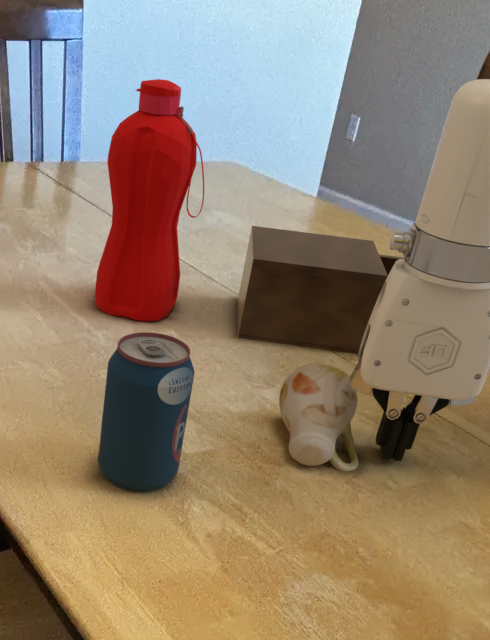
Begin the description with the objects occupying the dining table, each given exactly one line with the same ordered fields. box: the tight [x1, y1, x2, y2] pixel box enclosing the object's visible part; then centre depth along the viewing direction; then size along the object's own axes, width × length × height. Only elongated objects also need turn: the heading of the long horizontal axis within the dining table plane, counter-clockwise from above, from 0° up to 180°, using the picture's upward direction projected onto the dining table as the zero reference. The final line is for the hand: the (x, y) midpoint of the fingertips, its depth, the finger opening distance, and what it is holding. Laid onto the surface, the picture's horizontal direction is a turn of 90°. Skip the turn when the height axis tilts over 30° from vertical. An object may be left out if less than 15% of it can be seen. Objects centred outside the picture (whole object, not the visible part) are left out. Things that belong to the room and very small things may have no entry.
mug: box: [278, 363, 359, 472], centre depth 81 cm, size 8×10×10 cm
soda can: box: [97, 331, 195, 493], centre depth 72 cm, size 7×7×12 cm
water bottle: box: [94, 78, 205, 323], centre depth 99 cm, size 9×11×25 cm
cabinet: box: [237, 225, 388, 355], centre depth 103 cm, size 15×13×10 cm
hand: (390, 452), depth 80 cm, fingers closed
